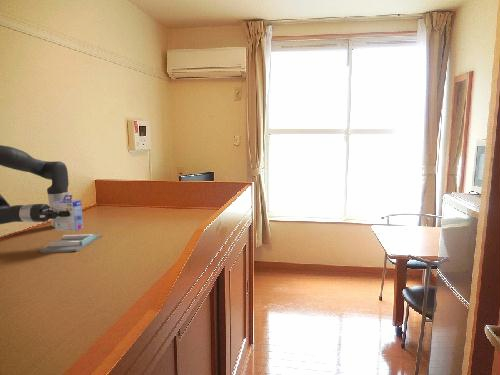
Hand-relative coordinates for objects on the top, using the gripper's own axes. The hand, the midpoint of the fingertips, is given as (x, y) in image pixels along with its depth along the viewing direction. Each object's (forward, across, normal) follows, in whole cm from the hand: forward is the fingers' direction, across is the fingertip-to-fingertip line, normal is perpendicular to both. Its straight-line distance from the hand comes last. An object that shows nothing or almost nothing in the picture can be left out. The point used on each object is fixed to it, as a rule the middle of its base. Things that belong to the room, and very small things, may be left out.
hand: (73, 212), depth 145 cm
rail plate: (-2, 0, +14) cm, 14 cm away
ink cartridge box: (-2, 0, +8) cm, 8 cm away
